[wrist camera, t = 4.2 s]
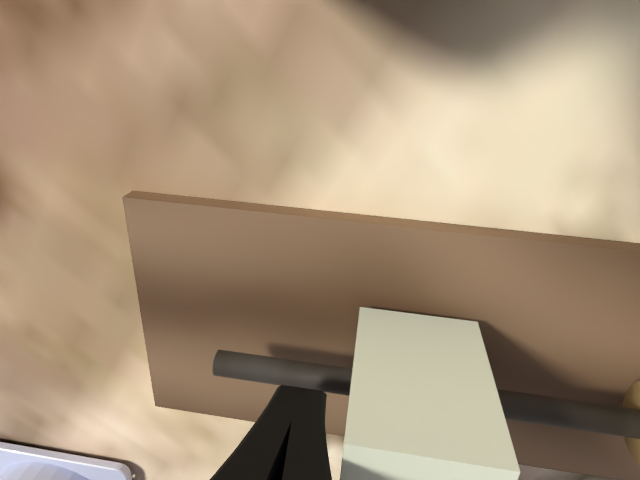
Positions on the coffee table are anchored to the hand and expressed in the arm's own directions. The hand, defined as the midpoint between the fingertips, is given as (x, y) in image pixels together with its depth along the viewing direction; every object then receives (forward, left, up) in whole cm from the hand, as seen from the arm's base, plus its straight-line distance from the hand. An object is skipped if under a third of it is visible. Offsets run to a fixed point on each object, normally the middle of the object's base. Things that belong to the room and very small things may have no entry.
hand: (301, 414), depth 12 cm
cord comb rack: (0, -3, -4) cm, 5 cm away
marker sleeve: (0, -3, -4) cm, 5 cm away
